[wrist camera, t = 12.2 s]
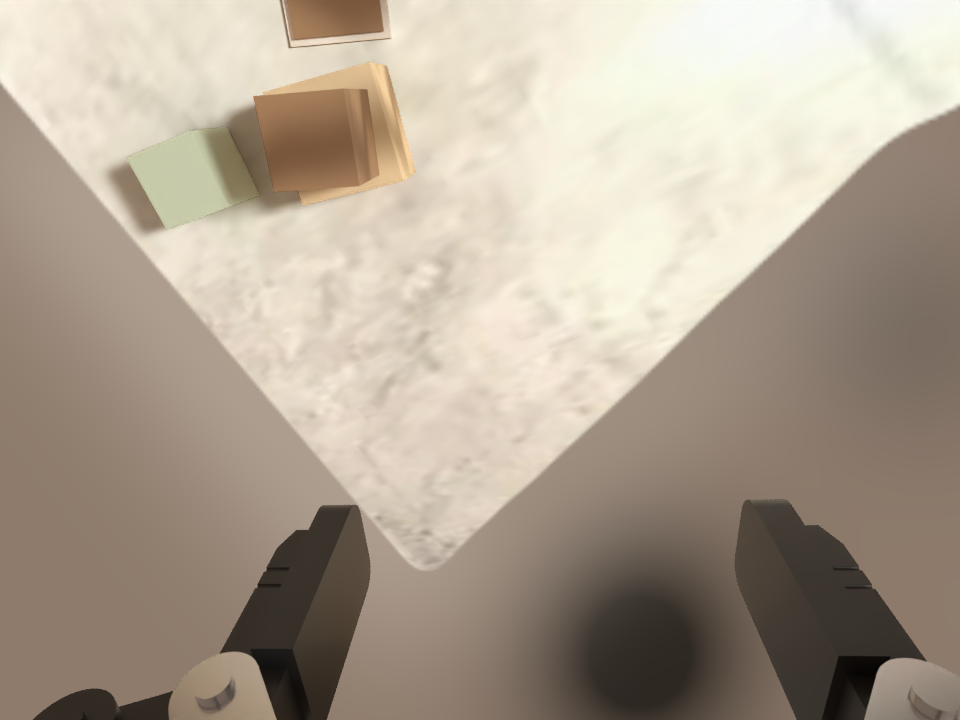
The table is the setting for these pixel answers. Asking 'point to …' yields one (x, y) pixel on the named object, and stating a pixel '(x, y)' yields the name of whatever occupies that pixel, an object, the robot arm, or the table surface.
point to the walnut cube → (318, 139)
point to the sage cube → (193, 175)
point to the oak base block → (385, 123)
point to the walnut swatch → (335, 21)
